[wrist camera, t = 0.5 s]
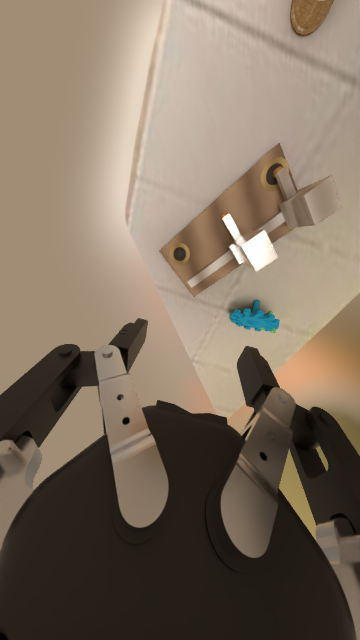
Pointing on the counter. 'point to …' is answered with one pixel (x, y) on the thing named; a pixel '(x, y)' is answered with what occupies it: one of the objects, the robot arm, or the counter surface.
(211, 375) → the counter surface
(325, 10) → the sprinkles bottle
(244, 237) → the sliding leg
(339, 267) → the counter surface
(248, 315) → the blue branching piece
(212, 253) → the plate
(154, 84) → the counter surface
